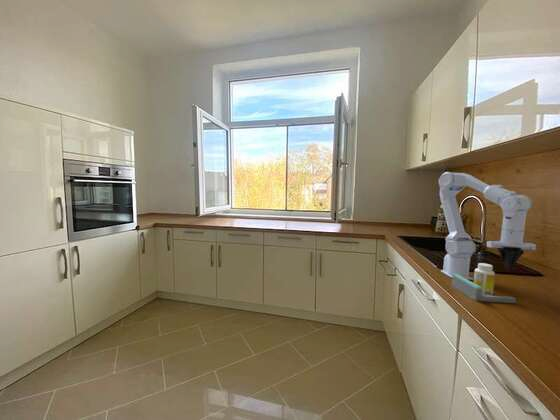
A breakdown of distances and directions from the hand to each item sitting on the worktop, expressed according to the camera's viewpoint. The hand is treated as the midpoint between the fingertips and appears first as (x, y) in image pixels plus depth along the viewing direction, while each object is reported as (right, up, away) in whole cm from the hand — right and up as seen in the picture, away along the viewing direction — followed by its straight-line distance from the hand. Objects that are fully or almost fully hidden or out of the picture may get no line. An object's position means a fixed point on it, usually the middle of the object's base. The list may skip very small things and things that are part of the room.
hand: (507, 268), depth 89 cm
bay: (-9, -9, 0) cm, 13 cm away
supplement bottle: (-8, -9, +1) cm, 12 cm away
